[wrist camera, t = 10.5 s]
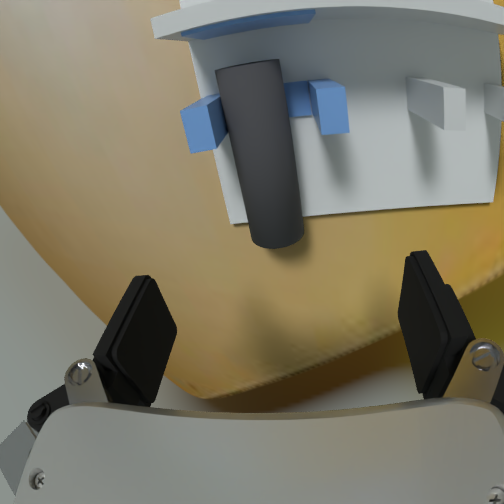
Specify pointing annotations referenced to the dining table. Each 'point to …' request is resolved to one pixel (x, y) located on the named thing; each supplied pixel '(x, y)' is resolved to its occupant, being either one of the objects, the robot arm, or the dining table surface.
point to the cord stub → (263, 150)
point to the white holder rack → (358, 95)
